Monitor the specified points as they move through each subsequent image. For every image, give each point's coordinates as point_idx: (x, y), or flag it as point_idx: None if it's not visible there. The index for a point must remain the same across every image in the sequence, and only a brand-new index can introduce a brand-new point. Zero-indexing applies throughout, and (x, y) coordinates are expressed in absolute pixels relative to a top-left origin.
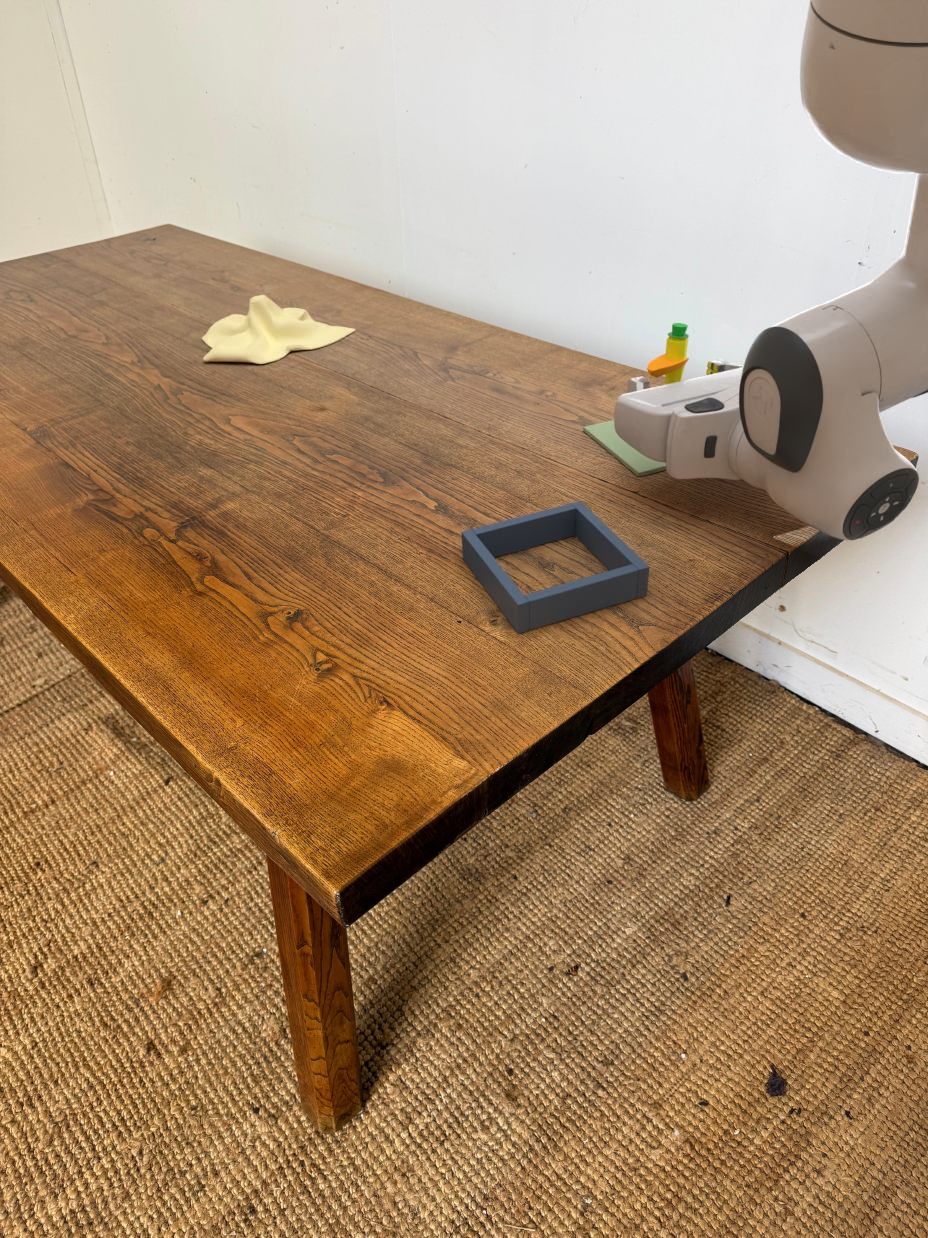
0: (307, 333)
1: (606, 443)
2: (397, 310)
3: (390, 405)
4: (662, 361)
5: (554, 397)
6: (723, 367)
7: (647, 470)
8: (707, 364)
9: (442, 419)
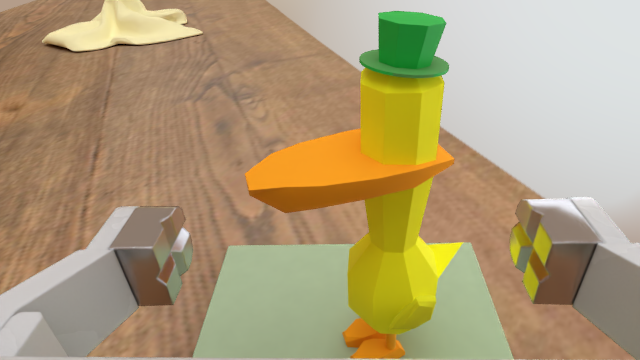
0: (146, 29)
1: (209, 324)
2: (267, 22)
3: (78, 119)
4: (328, 155)
5: None
6: (587, 255)
7: None
8: (516, 209)
9: (86, 157)
